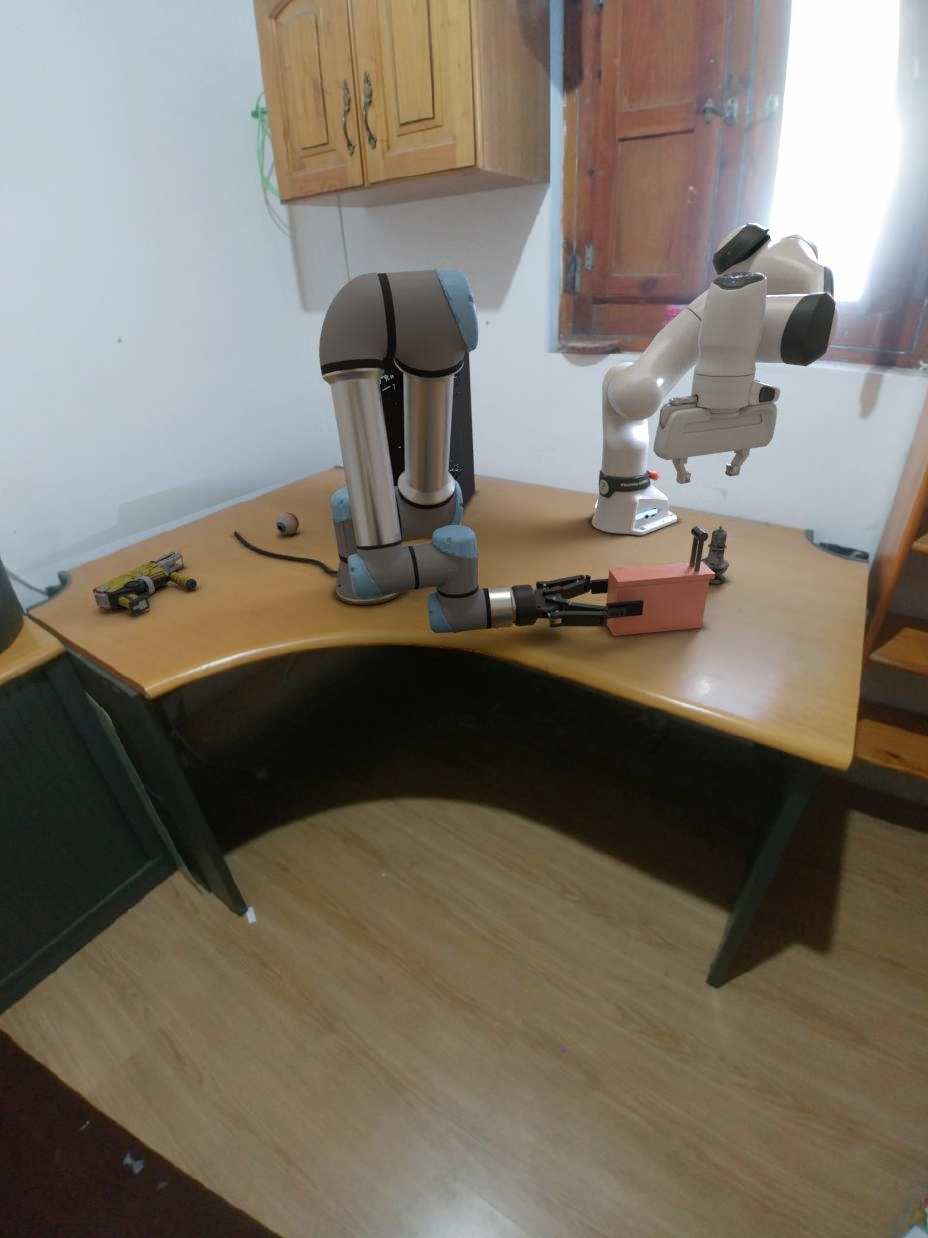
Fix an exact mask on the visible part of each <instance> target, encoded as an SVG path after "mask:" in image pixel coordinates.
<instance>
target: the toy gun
mask: <svg viewBox="0 0 928 1238" xmlns="http://www.w3.org/2000/svg"><path fill="white" fill-rule="evenodd" d="M180 559H181V563H178V562H177V561H179V560H180ZM184 563H185V562H184V559H183V555H182V553H181V552H176V551H171V552H169V553H167V554H164V555H163V556H161V557H158V558H156V559H155V560H149V561H148V562H146V563H143V564H142V565H140V566H138V567H135V568H134V569H131V570H129V571H127V572H125V573H122V574H121V575H119V576H117V577H115V578H112V579H111V580H108V581H106V582H104V583H102V584H100V585H98V586H95V587H94V588H93V589H92V593H93V595H94V601H95V603H96V606H98V607H99V608H100V610H102V609H103V610H104V611H106V610H116V609H120V608H127V609H128V610H129V611H130V615H131V616H136V615H138V614H140V613H142V612H145V611H147V610H150V609H151V607H150V603H149V598H148V597H149V596H151V595H152V594H154V593H155V590H156V589H157V588H160V587H163V586H164V585H167V584H168V583H169V582H171V583H174V584H176V585H178V586H181V587H182V588H186V589H187V590H189V591H192V590H194V589H196V588H197V587H198V585H197V582H198V581H197V580H195V579H194V578H190V577H188V576H186V575H183V574H180V573H178V572H177V570H179V569H181V568H184V566H185V564H184Z"/></svg>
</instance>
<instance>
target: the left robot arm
mask: <svg viewBox="0 0 928 1238" xmlns="http://www.w3.org/2000/svg"><path fill="white" fill-rule="evenodd" d="M478 345H479V321H478V312H477V308H476V302H475V297H474V293H473V290H472V287H471V284H470V281H469V280H468V278H467V277H466V275H465V274H464V273H463V272H462V271H460V270H458V269H439V268H437V267H436V268H435V267H434V268H433V269H426V270H410V271H409V270H408V271H395V272H394V271H393V272H379V273H377V272H368V273H363V274H359V275H357V276H355V277H353V278H352V279H350V280H349V281H348V282H346V284H344V285H343V286H342V288H340V290H339V291H337V293H336V294H335V296H334V297H333V299H332V300H331V303H330V305H329V306H328V308H327V311H326V313H325V315H324V318H323V321H322V326H321V331H320V336H319V344H318V359H319V366H320V372H321V378H322V380H323V381H324V382H326V383H327V384H328V385H329V388H330V392H331V393H330V394H331V398H332V403H333V410H334V418H335V422H336V428H337V429H336V430H337V435H338V440H339V447H340V453H341V459H342V465H343V470H344V471H343V473H344V478H345V484H346V485H345V486H342V487H340V488H339V489H337V490H336V491H335V492H334V494H333V495H332V496H331V498H330V511H331V514H330V515H331V517H330V518H331V521H332V522H333V528H334V534H335V542H336V548H337V552H338V559H339V563H338V569H337V570H335V569H334V570H333V569H331V568H329V567H328V566H327V565H326V564H325V563H324V562H322V561H320V560H317V559H314V558H307V557H300V556H299V557H298V556H293V555H288V554H287V555H286V554H281V553H277V552H276V553H275V552H271V551H267V550H264V549H261V548H258V547H256V546H254V545H252V544H251V543H250V542H249V541H247V540H246V539H244V538H243V537H242V536H241V535H240V534H239V533H238V532H237V531H236V530H235V531H234V532H233V534H234V535H235V537H236V538H237V539H238V540H239V541H241V542H242V543H243V544H244V545H245V546H246V547H248V548H250V549H251V550H253V551H256V552H258V553H260V554H263V555H266V556H270V557H275V558H278V559H279V558H280V559H285V560H291V561H297V562H307V563H313V564H317V565H319V566H320V567H321V568H322V569H323V570H324V571H326V572H327V573H328V574H331V575H336V580H335V592H336V596H337V598H338V599H339V600H340V601H342V602H343V603H346V604H349V605H354V606H372V605H373V606H374V605H379V604H383V603H387V602H390V601H392V600H394V599H396V598H397V597H399V596H400V595H402V594H403V593H404V592H409V591H415V590H421V589H428V588H435V587H436V588H435V589H436V591H434V592H430V593H428V594H427V596H426V603H427V614H428V625H429V629H430V631H431V632H432V633H434V634H452V633H453V634H457V633H463V632H471V631H479V630H480V631H481V630H491V629H496V630H499V629H503V628H511V627H513V624H514V626H516V627H517V628H519V627H527V626H528V627H529V626H534V625H535V624H536V622H537V620H539V619H543V620H544V619H545V620H548V621H549V627H550V628H551V629H554V628H561V627H586V628H587V627H588V628H589V627H592V628H605V627H608V626H607V620H608V619H610V618H620V617H629V616H640V615H642V613H643V604H644V602H643V600H637V601H626V602H615V603H607V602H606V603H605V605H599V604H590V603H582V602H573V601H571V599H574V598H577V597H579V596H583V595H585V594H587V593H590V594H591V595H600V594H601V595H602V594H607V591H608V578H598V579H591V578H592V576H591V574H585V575H584V574H577V575H572V576H568V577H567V576H566V577H562V578H561V577H560V578H557V579H551V580H539V581H536V582H535V589H534V587H533V585H532V584H517V585H513V586H512V587H511V588H510V587H509V586H508V585H505V586H495V587H485V588H484V587H483V588H479V551H478V544H477V536H476V533H475V531H474V530H473V529H471V528H470V527H468V526H465V525H462V520H463V516H464V515H463V514H464V509H463V507H462V504H463V498H462V492H461V488H460V486H459V484H458V482H457V481H456V480H454V478H453V477H452V475H451V474H450V473H449V472H448V469H449V451H450V434H451V416H452V399H453V382H454V374H456V373H457V372H458V371H460V370H461V368H462V366H463V363H464V353H465V351H467V352H469V353H471V352H472V351H475V350H476V349H477V346H478ZM383 358H394V362H395V364H396V366H397V367H398V368H399V369H400V370H401V371H402V372H403V376H404V435H405V471H404V472H403V473H402V474H401V475H400V477H399V479H398V486H395V487H394V483H393V476H392V469H391V461H390V454H389V447H388V440H387V433H386V426H385V419H384V412H383V405H382V398H381V391H380V384H381V383H379V380H380V378H381V377H382V375H383V374H384V365H383ZM382 378H383V377H382ZM380 381H381V380H380ZM429 539H431V542H427V543H420V544H414V545H406V546H403V542H412V541H413V542H414V541H419V540H429Z"/></svg>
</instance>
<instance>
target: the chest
mask: <svg viewBox="0 0 928 1238" xmlns="http://www.w3.org/2000/svg"><path fill="white" fill-rule="evenodd" d="M607 579H608V591H607V593H606V603H615V602H626V601H637V600H643V602H644V604H643V613H642V615H640V616H629V617H620V618H610V619H608V620H607V626H606V627H608V629H609V631H610V632H611V634H612V636H614V637H615V636H626V635H637V634H647V633H659V632H670V631H678V630H679V631H680V630H690V629H702V626H703V622H704V621H703V620H704V615H705V608H706V604H707V596H708V591H709V586H710V583H709V579H708V580H697V581H686V582H674V583H663V584H652V585H640V586H629V587H617V586H616V584H615V583H614V581H613V580H612V579H611V577H610V576H609V575H608V578H607Z"/></svg>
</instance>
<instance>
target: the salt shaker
mask: <svg viewBox="0 0 928 1238" xmlns="http://www.w3.org/2000/svg"><path fill="white" fill-rule="evenodd" d="M727 537H728V532H727V531H726V530H725V529H723V526H722V525H720V526H718V528H717V529H714V530H713V531H712V532H711V539H710V543H709V544H708V554H707V556H706V557H703V558H701V561H702V562H703V563H705V564H706V565H707V566H708V567H709V568H710V569H711V570H712V571H713V572H714V573H715V577H714V579H709V584H714V585H715V584H721V583H724V582H726V577H725V576H724V575H723V574H725V573H726V571H727V570H728V568H729V567H730V563H729V561H728V560H727V559H725V550H727V548H728V546H727V545H726V543H727Z"/></svg>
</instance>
